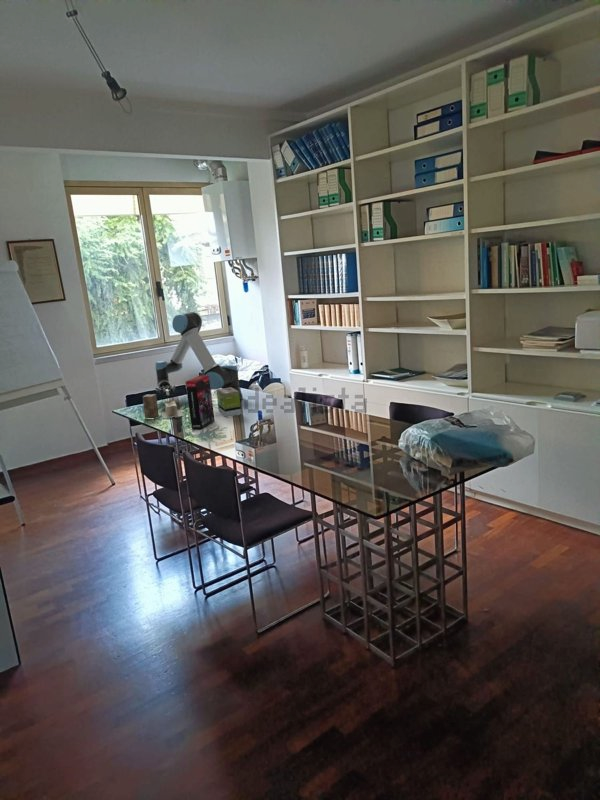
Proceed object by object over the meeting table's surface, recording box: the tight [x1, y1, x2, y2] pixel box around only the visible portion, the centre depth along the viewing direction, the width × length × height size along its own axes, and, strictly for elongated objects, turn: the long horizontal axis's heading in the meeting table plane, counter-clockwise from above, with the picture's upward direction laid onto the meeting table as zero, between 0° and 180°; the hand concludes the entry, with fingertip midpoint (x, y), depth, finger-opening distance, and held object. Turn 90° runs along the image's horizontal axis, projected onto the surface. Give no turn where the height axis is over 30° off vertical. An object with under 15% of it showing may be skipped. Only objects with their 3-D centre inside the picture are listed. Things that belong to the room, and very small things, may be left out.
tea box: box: [215, 387, 242, 418], centre depth 349 cm, size 15×10×15 cm, turn 25°
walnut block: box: [142, 393, 160, 419], centre depth 352 cm, size 6×6×14 cm
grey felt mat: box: [160, 409, 184, 419], centre depth 359 cm, size 12×18×1 cm, turn 18°
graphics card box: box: [185, 374, 216, 430], centre depth 325 cm, size 17×7×27 cm, turn 163°
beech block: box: [164, 400, 178, 417], centre depth 360 cm, size 6×6×16 cm
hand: (167, 393), depth 364 cm, fingers closed
